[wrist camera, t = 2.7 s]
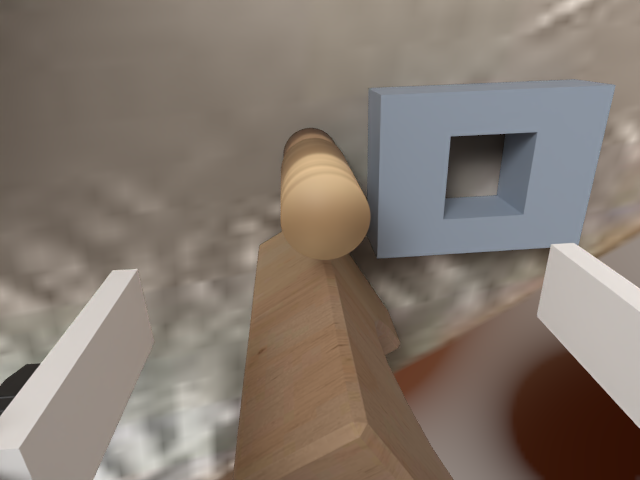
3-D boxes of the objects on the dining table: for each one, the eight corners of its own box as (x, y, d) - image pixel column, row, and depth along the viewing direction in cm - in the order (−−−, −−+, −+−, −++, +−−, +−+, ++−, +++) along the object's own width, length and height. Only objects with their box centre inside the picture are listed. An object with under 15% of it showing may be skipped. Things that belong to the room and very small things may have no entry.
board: (368, 88, 29) (381, 95, 25) (574, 79, 30) (615, 85, 26) (366, 234, 33) (377, 258, 30) (546, 223, 34) (577, 245, 30)
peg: (279, 127, 30) (277, 178, 19) (338, 124, 30) (371, 173, 19) (283, 184, 31) (283, 262, 20) (339, 181, 31) (369, 257, 21)
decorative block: (389, 312, 36) (496, 584, 18) (330, 344, 37) (375, 634, 19) (320, 205, 32) (370, 422, 14) (255, 244, 33) (221, 496, 15)
